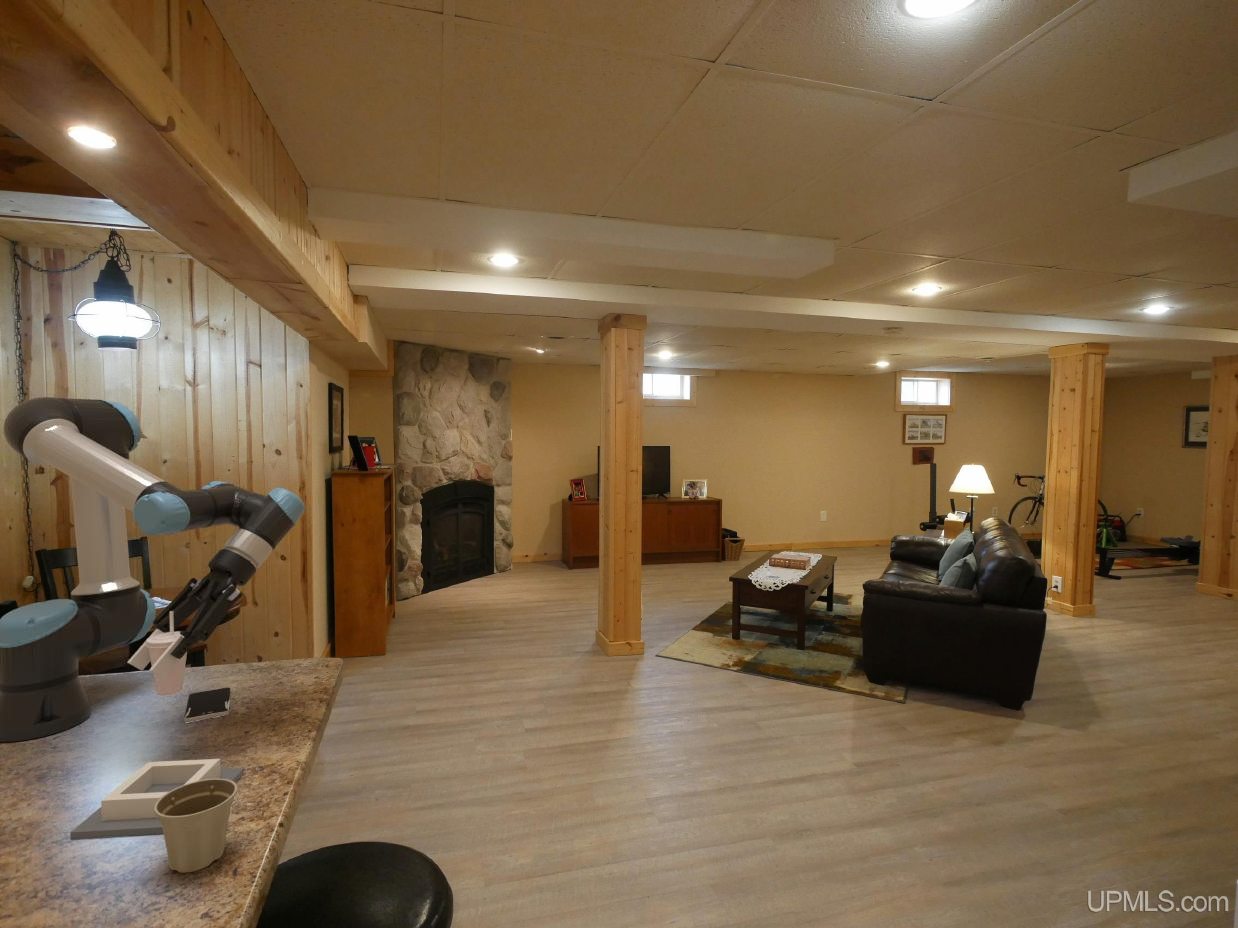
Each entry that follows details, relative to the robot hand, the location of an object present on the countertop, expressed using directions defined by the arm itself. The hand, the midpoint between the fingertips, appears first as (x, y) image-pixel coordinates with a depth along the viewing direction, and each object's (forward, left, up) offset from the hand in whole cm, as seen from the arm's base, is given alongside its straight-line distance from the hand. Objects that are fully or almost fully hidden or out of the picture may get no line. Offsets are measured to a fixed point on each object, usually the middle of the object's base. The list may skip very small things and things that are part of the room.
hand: (145, 669), depth 107 cm
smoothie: (-3, +2, -5) cm, 6 cm away
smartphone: (-26, -3, -18) cm, 32 cm away
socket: (+11, +9, -17) cm, 22 cm away
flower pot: (+25, +21, -18) cm, 37 cm away
